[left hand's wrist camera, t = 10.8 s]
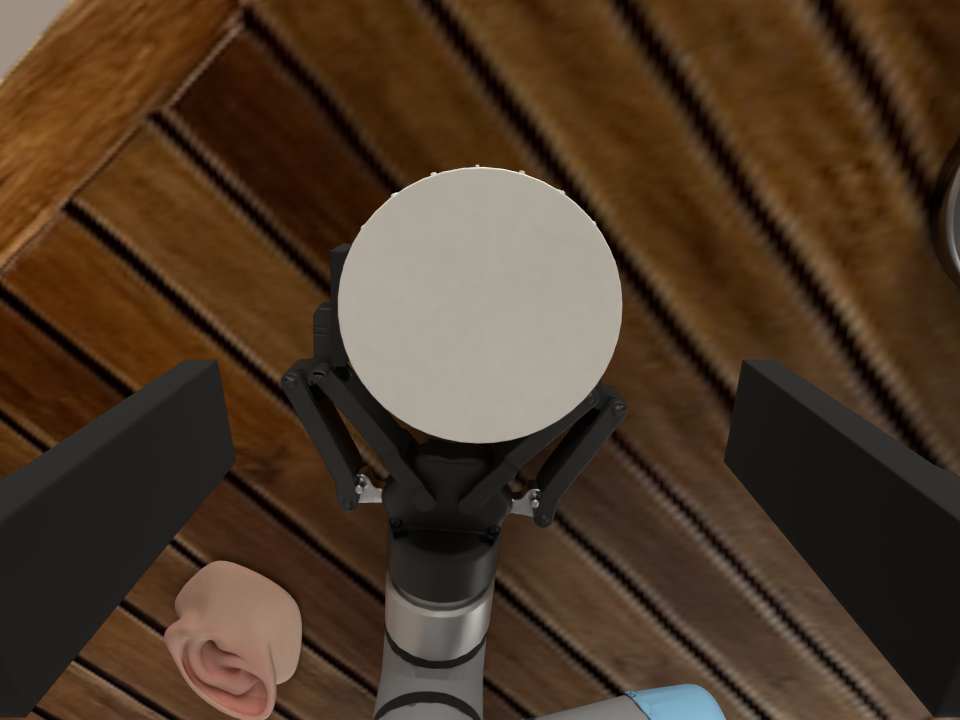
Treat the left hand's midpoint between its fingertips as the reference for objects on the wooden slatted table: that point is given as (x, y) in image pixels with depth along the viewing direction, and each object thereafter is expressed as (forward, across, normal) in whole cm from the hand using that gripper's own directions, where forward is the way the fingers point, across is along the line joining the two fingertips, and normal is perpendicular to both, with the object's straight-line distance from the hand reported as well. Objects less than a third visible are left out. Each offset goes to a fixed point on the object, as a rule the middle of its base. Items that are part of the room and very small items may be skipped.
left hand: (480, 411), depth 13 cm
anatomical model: (+24, +21, +32) cm, 45 cm away
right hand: (+18, +1, -1) cm, 18 cm away
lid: (+9, 0, 0) cm, 9 cm away
